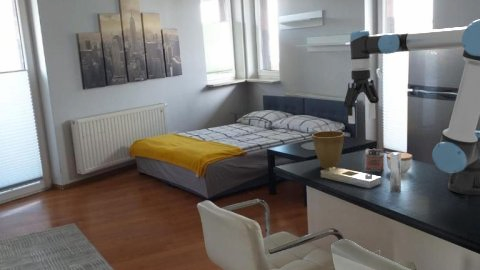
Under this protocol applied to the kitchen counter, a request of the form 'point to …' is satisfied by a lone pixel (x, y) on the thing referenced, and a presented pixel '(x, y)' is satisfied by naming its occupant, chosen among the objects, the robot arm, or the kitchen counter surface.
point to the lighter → (374, 160)
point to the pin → (395, 172)
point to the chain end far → (337, 173)
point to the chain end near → (363, 180)
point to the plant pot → (328, 147)
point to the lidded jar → (402, 162)
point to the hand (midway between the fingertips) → (362, 121)
